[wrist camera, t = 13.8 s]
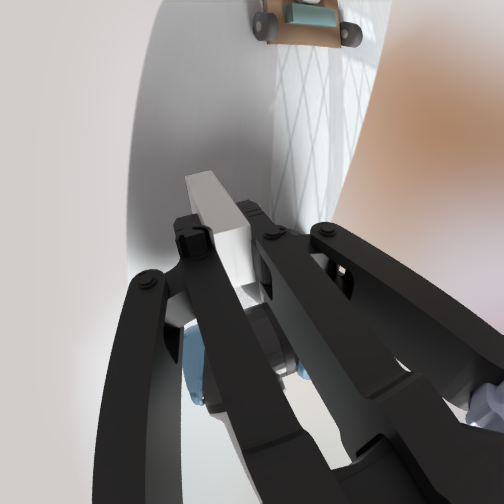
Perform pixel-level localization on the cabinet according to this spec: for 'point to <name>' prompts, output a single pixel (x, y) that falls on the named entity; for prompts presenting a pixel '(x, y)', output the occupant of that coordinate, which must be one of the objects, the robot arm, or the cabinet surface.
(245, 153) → the cabinet surface
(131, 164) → the cabinet surface
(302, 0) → the rook chess piece
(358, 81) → the cabinet surface
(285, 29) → the chassis
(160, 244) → the cabinet surface
